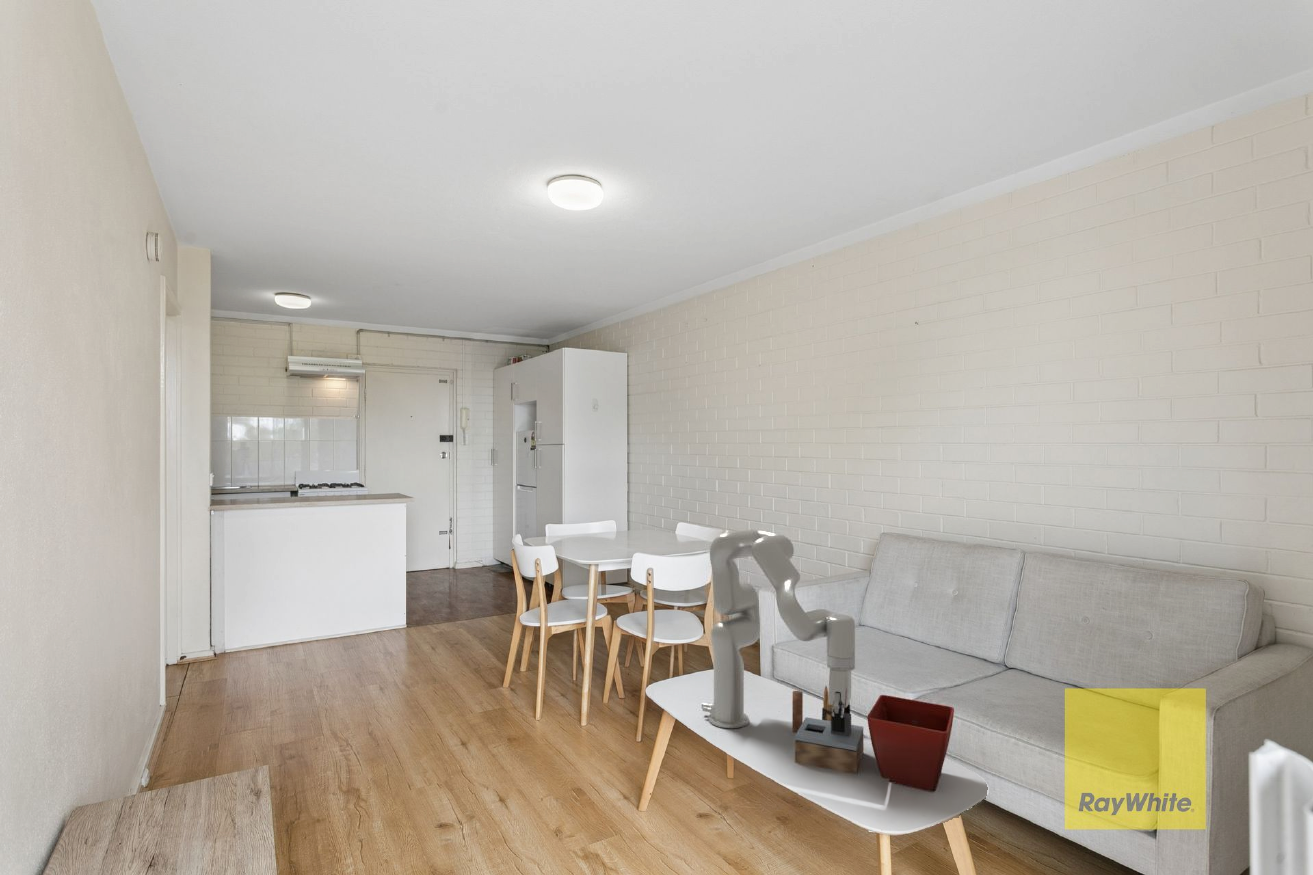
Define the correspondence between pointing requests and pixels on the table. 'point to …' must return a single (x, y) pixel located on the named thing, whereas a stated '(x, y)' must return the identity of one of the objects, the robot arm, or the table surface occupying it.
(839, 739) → the toolbox lid
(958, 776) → the table surface
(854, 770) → the brown hollow box
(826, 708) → the ammunition clip
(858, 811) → the table surface
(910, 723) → the plant pot
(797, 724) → the brown rounded cylinder
